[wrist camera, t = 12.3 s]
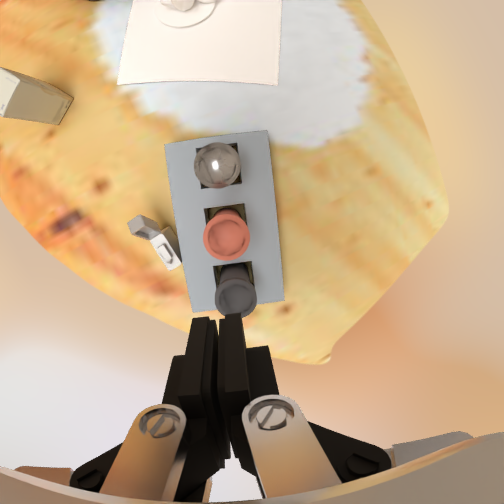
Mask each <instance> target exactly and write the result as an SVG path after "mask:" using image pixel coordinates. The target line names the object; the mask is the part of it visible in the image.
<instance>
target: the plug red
mask: <svg viewBox="0 0 504 504" xmlns="http://www.w3.org/2000/svg"><path fill="white" fill-rule="evenodd" d="M249 242H250V233H249V230H248V227H247V225H246V223H245V222H244V221H243V220H242V219H241V216H240V214H239V213H238V212H237V211H236V210H234V209H232V208H222V209H220V210H218V211H217V212H216V213H215V214H214V216H213V218H212V219H211V220H210V221H209V222H208V223H207V225H206V227H205V230H204V233H203V243H204V246H205V248H206V250H207V251H208V253H209V254H210V255H212V256H213V257H214V258H216V259H219V260H223V261H230V260H234V259H237V258H238V257H240V256H241V255H243V254H244V253H245V251H246V250H247V248H248V246H249Z"/></svg>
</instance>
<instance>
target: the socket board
mask: <svg viewBox="0 0 504 504" xmlns="http://www.w3.org/2000/svg"><path fill="white" fill-rule="evenodd" d="M215 142H221V143H225V144H228V145H230V146H237V153H238V155H239V158H240V161H241V169H240V179H241V182H237V183H232V184H230V185H229V186H227V187H224V188H219V189H214V188H210V187H204V184H202V183H201V182H200V181H199V180H198V178H197V177H196V175H195V172H194V160H195V157H196V155H197V153H198V152H199V151H200V150H201V149H202V148H203V147H204V146H206V145H208V144H210V143H215ZM164 145H165V154H166V161H167V169H168V177H169V184H170V191H171V197H172V204H173V210H174V217H175V223H176V229H177V234H178V240H179V246H180V251H181V257H182V262H183V267H184V272H185V277H186V282H187V287H188V292H189V297H190V302H191V306H192V311H193V312H202V311H210V310H218V309H217V308H216V305H215V292H216V289H217V287H218V286H219V282H218V276H217V270H216V266H217V265H224V264H232V263H240V262H247V261H251V269H252V277H253V284H252V285H253V287H254V288H255V291H256V295H257V304H264V303H271V302H278V301H285V300H284V288H283V276H282V265H281V254H280V243H279V232H278V222H277V212H276V202H275V193H274V184H273V174H272V166H271V157H270V148H269V140H268V131H267V130H265V131H254V132H245V133H236V134H228V135H220V136H213V137H206V138H199V139H193V140H187V141H181V142H175V143H169V144H164ZM241 203H243V204H244V212H245V220H246V225H247V227H248V230H249V233H250V242H249V246H248V248H247V250H246V251H245V253H244V254H243V255H241V256H240V257H238V258H237V259H234V260H230V261H223V260H219V259H216V258H214V257H213V256H212V255H210V254H209V253H208V251H207V250H206V248H205V246H204V243H203V233H204V230H205V227H206V225H207V223H208V222H209V218H208V211H207V208H211V207H219V206H226V205H234V204H241ZM257 304H256V305H257Z"/></svg>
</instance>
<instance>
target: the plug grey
mask: <svg viewBox="0 0 504 504" xmlns="http://www.w3.org/2000/svg"><path fill="white" fill-rule="evenodd" d="M240 169H241V161H240V158H239V155H238V153H237V152H236V151H235V149H234V148H232V147H231V146H230V145H228V144H225V143H221V142H215V143H210V144H208V145H206V146H204V147H203V148H202V149H201V150H200V151H199V152H198V153H197V155H196V157H195V160H194V172H195V175H196V177H197V178H198V180H199V181H200V182H201V183H202V184H204V185H205V186H207V187H210V188H214V189H219V188H224V187H227V186H229V185H230V184H232V183H233V182H234V181H235V180H236V178H237V177H238V175H239V173H240Z"/></svg>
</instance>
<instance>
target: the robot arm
mask: <svg viewBox="0 0 504 504" xmlns="http://www.w3.org/2000/svg"><path fill="white" fill-rule="evenodd" d="M230 442H231V445H232V448H233V452H234V455H235V458H239V461H240V464H241V468H242V469H244V470H246V471H247V472H249V473H251V474H252V475H254V476H256V480H257V483H258V487H259V490H260V492H261V495H262V499H257V500H247V501H234V502H211V503H210V502H209V497H210V492H211V487H212V477H211V476H212V475H213V474H215V473H216V472H217V471H219V469H221V468H225V459H230V458H231V452H230ZM0 504H504V432H499V433H494V434H488V435H484V436H480V437H475V438H473V437H472V436H471V435H469V434H468V433H465V432H460V431H458V432H451V433H447V434H443V435H439V436H435V437H430V438H426V439H422V440H417V441H412V442H406V443H401V444H395V445H392V448H390V449H384V450H383V449H381V448H379V447H377V446H375V445H372V444H369V443H366V442H362V441H360V440H357V439H354V438H351V437H348V436H345V435H342V434H340V433H337V432H334V431H332V430H329V429H326V428H324V427H321V426H319V425H316V424H314V423H311V422H308V421H307V420H306V418H305V416H304V414H303V413H302V411H301V409H300V407H299V406H298V404H297V403H296V402H295V401H294V400H292V399H290V398H288V397H285V396H282V395H279V391H278V386H277V382H276V378H275V373H274V369H273V365H272V360H271V355H270V351H269V347H268V345H267V346H260V347H253V348H246V342H245V336H244V329H243V323H242V316H241V312H240V313H232V314H225V319H220V320H219V335H218V330H217V325H216V321H215V320H210V319H209V316H208V317H199V318H193V319H192V323H191V328H190V333H189V338H188V342H187V347H186V352H185V355H178V356H174V357H173V359H172V363H171V367H170V371H169V375H168V380H167V384H166V388H165V392H164V396H163V401H162V404H158V405H154V406H151V407H149V408H146V409H145V410H143V411H142V412H141V413H139V414H138V416H137V417H136V419H135V420H134V422H133V424H132V426H131V428H130V430H129V432H128V434H127V436H126V439H125V440H124V442H123V443H121V444H119V445H118V446H116V447H114V448H112V449H111V450H109V451H107V452H105V453H103V454H102V455H100V456H98V457H96V458H95V459H93V460H91V461H89V462H87V463H85V464H83V465H82V466H80V467H79V468H77V469H76V470H75V471H73V470H72V469H71V468H49V467H31V466H22V467H18V468H16V469H15V470H12V469H8V468H4V467H0Z"/></svg>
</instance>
